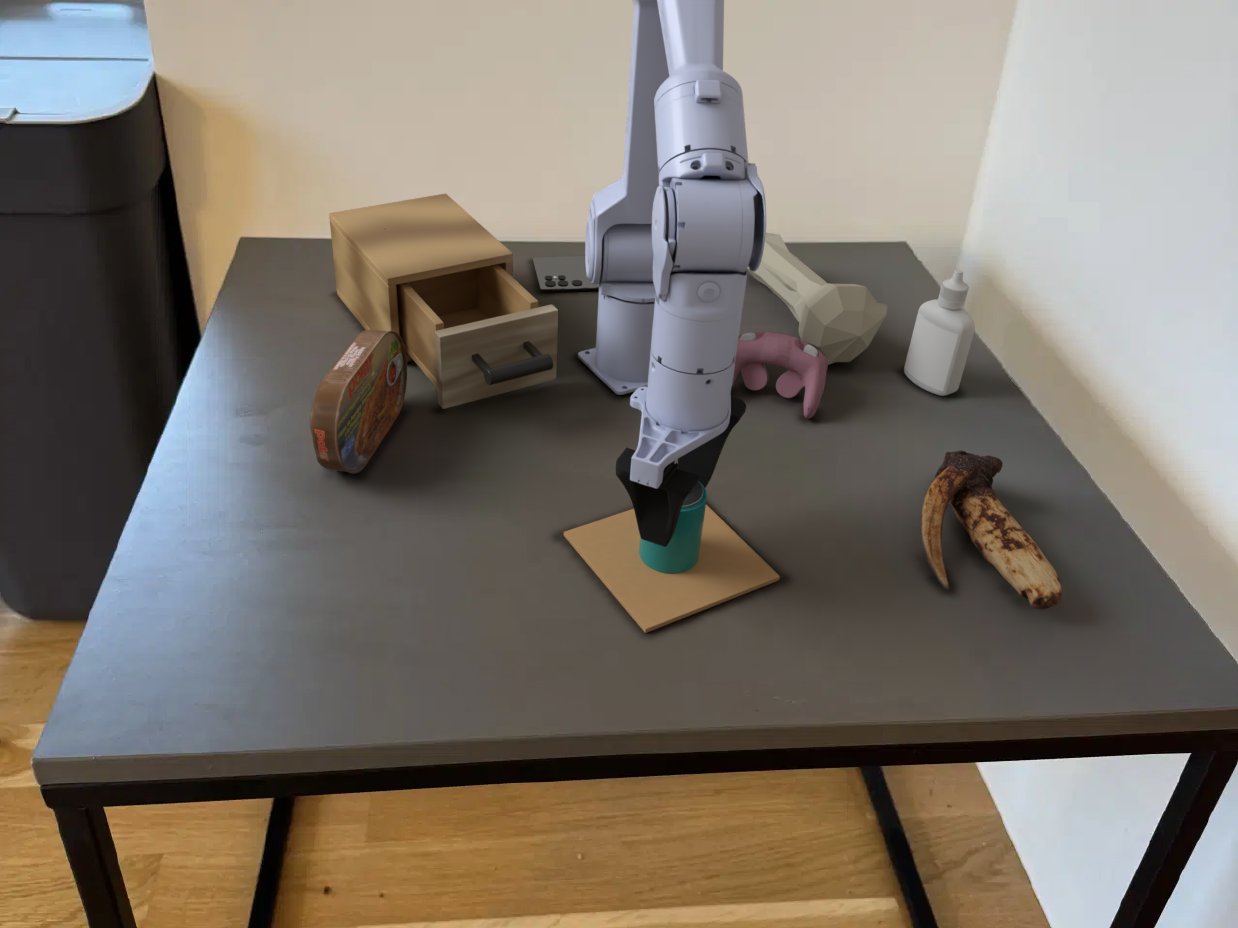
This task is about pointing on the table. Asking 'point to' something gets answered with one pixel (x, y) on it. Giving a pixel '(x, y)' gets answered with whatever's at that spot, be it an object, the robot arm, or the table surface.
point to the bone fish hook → (985, 528)
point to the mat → (665, 595)
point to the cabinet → (405, 252)
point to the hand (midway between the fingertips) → (675, 510)
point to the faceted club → (820, 304)
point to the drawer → (477, 334)
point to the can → (679, 537)
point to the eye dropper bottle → (941, 339)
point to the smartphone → (562, 274)
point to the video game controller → (786, 352)
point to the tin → (359, 400)
